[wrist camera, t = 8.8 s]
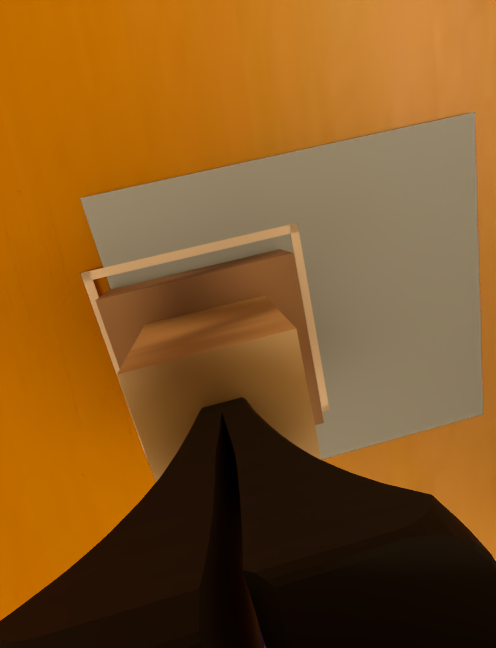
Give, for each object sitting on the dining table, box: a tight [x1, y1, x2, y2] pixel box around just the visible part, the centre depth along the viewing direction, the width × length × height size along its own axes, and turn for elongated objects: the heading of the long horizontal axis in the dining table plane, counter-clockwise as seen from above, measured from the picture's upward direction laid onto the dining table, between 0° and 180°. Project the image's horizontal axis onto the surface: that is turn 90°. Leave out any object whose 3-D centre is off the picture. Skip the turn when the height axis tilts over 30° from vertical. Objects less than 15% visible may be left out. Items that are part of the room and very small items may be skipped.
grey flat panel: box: [80, 112, 483, 460], centre depth 18 cm, size 19×16×1 cm
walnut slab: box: [95, 249, 324, 425], centre depth 16 cm, size 8×8×2 cm
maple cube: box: [117, 295, 322, 482], centre depth 13 cm, size 5×5×5 cm
